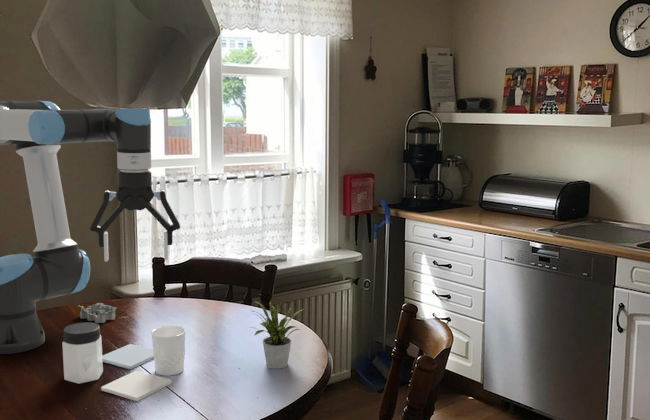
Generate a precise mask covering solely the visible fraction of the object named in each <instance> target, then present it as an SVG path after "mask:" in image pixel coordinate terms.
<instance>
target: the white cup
mask: <svg viewBox="0 0 650 420" xmlns="http://www.w3.org/2000/svg"><path fill="white" fill-rule="evenodd" d="M151 340H152V342H151V343H152V349H153V353H154V359H153V360H154V368H155V373H156V374H157V375H160V376H163V377H165V376H166V377H170V376H175V375H178V374H181V373H183V372H184V367H185V352H186V351H185V350H186V329H185V328H184V327H182V326H179V325H165V326H160V327H156V328H154V329H153V330H152V331H151Z"/></svg>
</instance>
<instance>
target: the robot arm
mask: <svg viewBox="0 0 650 420" xmlns="http://www.w3.org/2000/svg"><path fill="white" fill-rule="evenodd" d="M151 123H152V118H151V109H116V108H115V109H112V108H109V107H98V108H94V109H93V108H92V109H89V108H88V109H86V108H85V109H60V107H59V106H58V105H57V104H56V103H54V102H52V101H49V100H48V101H47V100H39V99H38V100H37V99H36V100H0V146H6V145H7V146H10V145H13V146H14V147H15V153H16V154H18V155H19V156H20V157H22V158H23V159H22V160H23V164H24V171H25V177H26V184H27V189H28V194H29V199H30V205H31V212H32V217H33V222H34V228H35V235H36V241H37V245H36V247H34V249H33V250H32V253H33V256H32V254H29V253H16V254H14V253H13V254H8V255H7V254H6V255H3V256H1V257H0V355H11V354H12V355H13V354H19V353H24V352H28V351H31V350H34V349H37V348H38V347H40V346H42V345H43V344H44V343H45V342H46V336H45V330H44V328H43V326H42V324H41V321H40V318H39V317H38V315H37V307H36V306H37V303H36V302H39V301H44V300H49V299H53V298H57V297H58V298H59V297H61V296H62V297H63V296H69V295H71V294H73V293H74V294H75V293H77V292H81V291H82V290H84V289H85V288H86V287H87V285H88V283H89V280H90V277H91V276H90V275H91V262H90V259H89V256H88V255H87V252H86V251H85V250H83V249H79V246H78V243H77V242H76V241H74V239H72V238H71V232H70V226H69V220H68V215H67V208H66V203H65V198H64V192H63V185H62V181H61V174H60V167H59V162H58V157H57V156H58V155H57V154H58V152H59V151H60V149H61V148H62V147H61V146H62V145H61V144H72V143H73V144H75V143H95V142H97V143H98V142H115V143H116V155H117V156H116V160H117V161H116V162H117V163H116V164H117V169H118V170H119V171H118V172H117V191H110V190H109V189H106V190H105V191H104V193H103V201H102V203H101V205H100V207H99V209H98V211H97V213H96V215H95V217H94V219H93V221H92V223H91V225H90V227H89V230H90V231H91V232H95V233H97V234H98V246H99V247H100V248H103V254H104V255H103V256H104V257H103V258H104V259H103V260H104V262H109V255H110V254H109V232H108V231H106V230H107V229H108V228H109V227H110V226H111V225H112V223H113V222H114V221H115V220H116V219H117V217H118V216H120V214H121V213H122V212H123V211H124V210H127V211H134V210H136V211H143V210H145V209H146V210H147V211H148V212H149V213H150V214H151V215H152V216H153V217H154V218H155V220H157V222H158V223H160V225H161V226H162V227H163V228H164V229H165V230H164V231H163V246H164V247H163V250H164V251H163V253H164V255H163V257H164V260H166V261H167V260H169V259H168V258H169V254H168V252H169V251H168V248H169V247H168V246H172V245H173V232H174V231H177V230H180V228H181V224H180V222H179V220H178V218H177V217H176V214H175V212H174V211H173V209H172V208H171V207H172V206H171V205H170V204H169V201H168V200H167V197H166V190H164V189H160V190H158V191H156V190H155V191H153V188H152V182H153V181H152V171H151V170H150V169H151V168H152V151H151V150H152V149H151V148H152V147H151V145H152V142H151V141H152V138H151V137H152V133H151V132H152V130H151V129H152V127H151V126H152V125H151ZM154 197H155V198H156V199H157V200H158V201H160V202H161V205H162V207H163V208H164V210H165V212H166V214H167V216H168V217H169V220H170V222H171V223H172V224H170V222H168V220H167V219H166V218H165V217H164V216H163V215H162V213H160V212H159V211H158V209H156V207H155V206H154V205H153V204H152V203H151V201H152V200H153V199H154ZM114 198H116V199H117V200H118V201H119V203H118V205H117V206H116V208H115V209H114V210H113V211H112V212H111V214H110V215H109V216H108V217H107V218H106V220H105V221H104V222H103V223H102V224H101V226H100V225H99V223H100V221H101V219H102V217H103V215H104V213H105V211H106V209H107V207H108V205H109V202H111V201H113V200H114Z"/></svg>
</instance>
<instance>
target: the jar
mask: <svg viewBox="0 0 650 420" xmlns="http://www.w3.org/2000/svg"><path fill="white" fill-rule="evenodd" d="M62 330H63V331H62V333H63V334H62V335H63V341H62V343H61V344H62V346H61V347H62V360H63V376H64V377H63V379H64V380H65V381H67V382H71V383H75V384H85V383H89V382H94V381H97V380H99V379H100V377H101V376H102V374H103V372H104V366H103V365H104V364H103V363H104V362H103V359H102V356H103V344H102V343H103V342H102V335H101V328H100V325H99V323H95V322H90V321H89V322H87V321H86V322H77V323H72V324H70V325H67V326H65V327H64V328H63V329H62Z"/></svg>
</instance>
